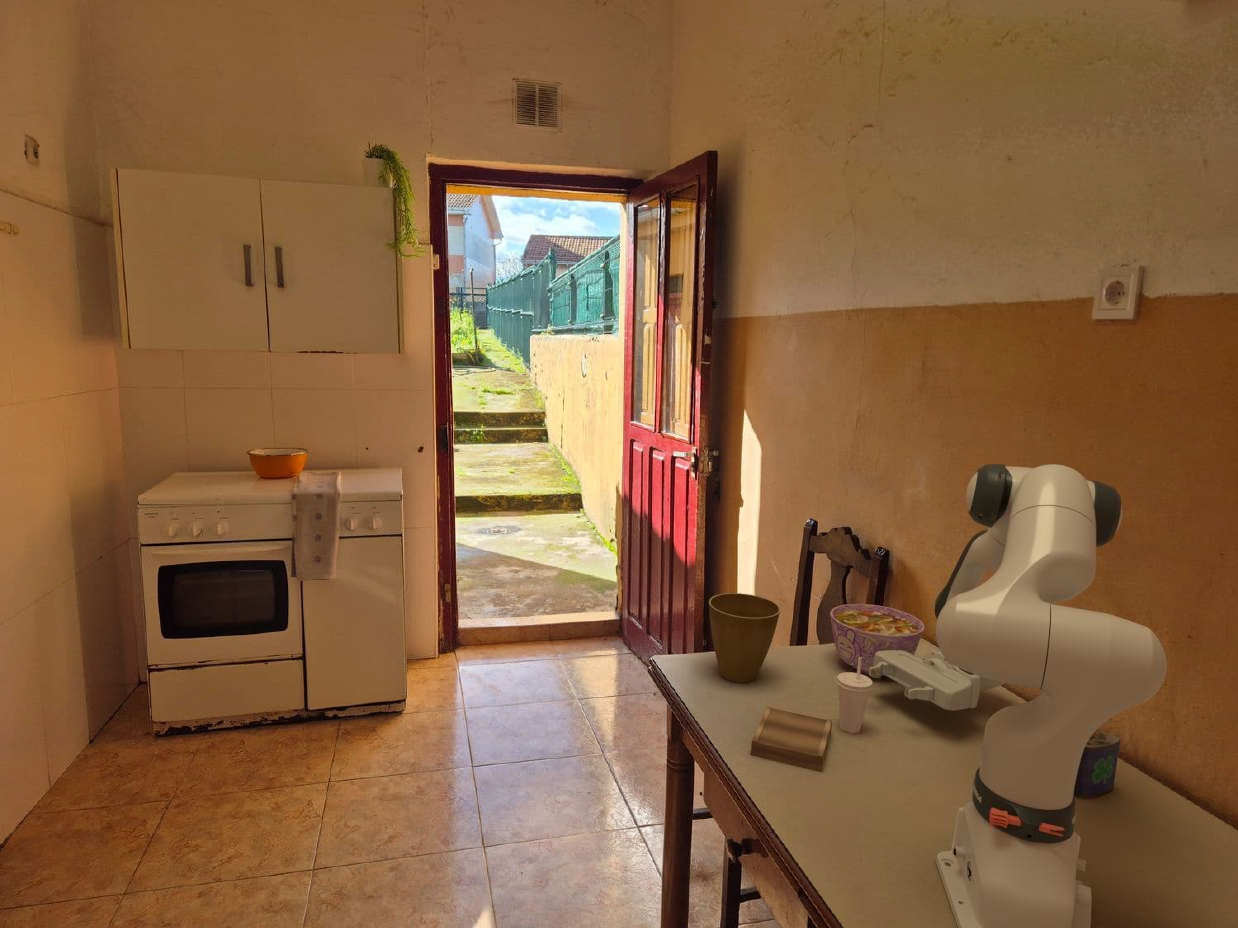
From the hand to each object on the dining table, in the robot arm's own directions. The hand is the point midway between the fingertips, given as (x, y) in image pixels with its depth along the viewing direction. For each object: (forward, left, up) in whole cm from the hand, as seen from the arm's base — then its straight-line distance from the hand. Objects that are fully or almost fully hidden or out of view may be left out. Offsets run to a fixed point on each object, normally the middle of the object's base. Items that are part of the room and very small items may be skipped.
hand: (888, 682), depth 147 cm
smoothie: (-6, +6, -8) cm, 12 cm away
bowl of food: (+25, +4, -8) cm, 27 cm away
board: (-17, +15, -8) cm, 24 cm away
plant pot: (+7, +30, -8) cm, 32 cm away
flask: (-10, -33, -8) cm, 35 cm away
